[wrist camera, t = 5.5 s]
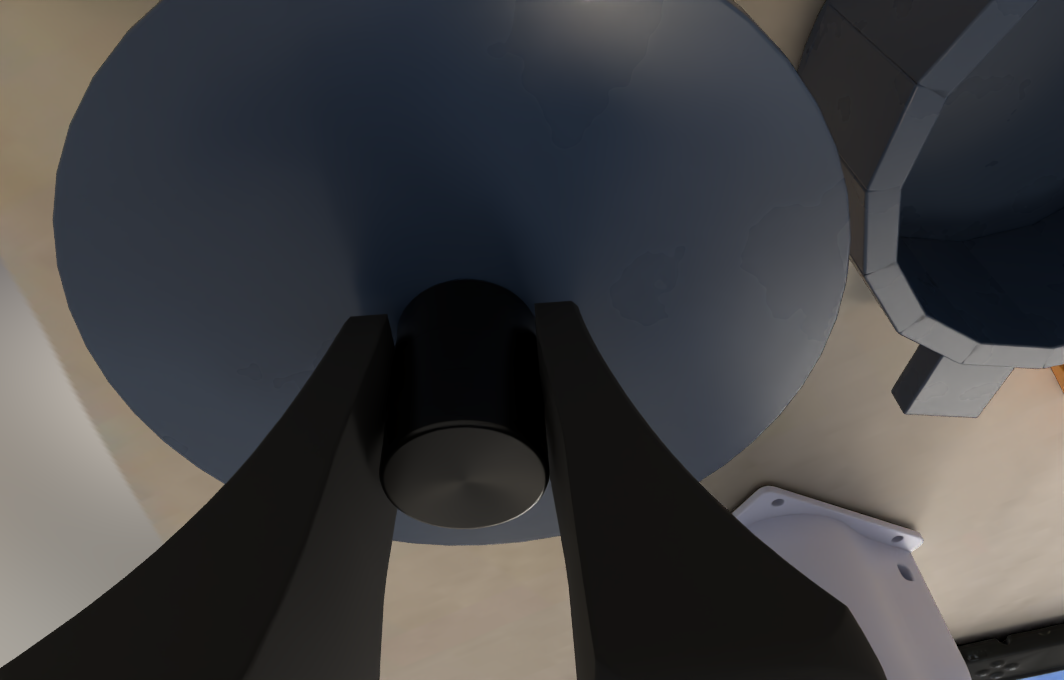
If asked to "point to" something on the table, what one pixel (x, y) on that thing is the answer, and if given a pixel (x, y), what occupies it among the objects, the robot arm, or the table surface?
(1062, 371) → the orange block
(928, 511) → the table surface
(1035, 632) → the game console
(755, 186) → the lid
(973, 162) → the pot
